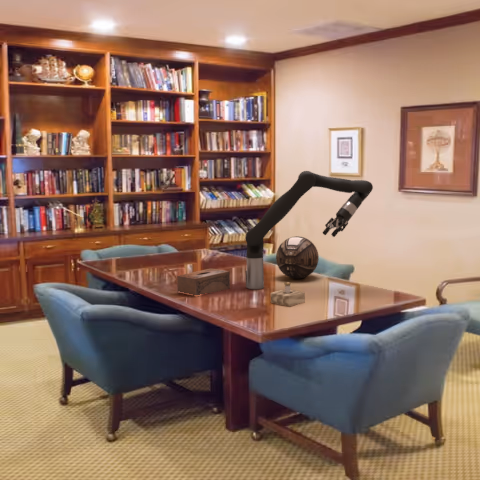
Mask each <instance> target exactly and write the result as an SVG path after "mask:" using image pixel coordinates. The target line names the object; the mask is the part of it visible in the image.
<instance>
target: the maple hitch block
mask: <svg viewBox="0 0 480 480" xmlns="http://www.w3.org/2000/svg"><path fill="white" fill-rule="evenodd" d="M305 293H306V292H305V291H300V290H295V289H290V293H289V294H286V293H285V288H284V289H281V290H276V291H273V292H270V303H271V304H275V305H278V306H280V305H281V306H285V307H292V306H295V305H300V304H303V303H305V302H306V294H305ZM299 303H300V304H299Z"/></svg>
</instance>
